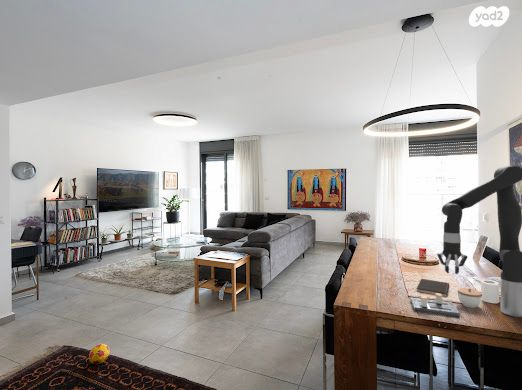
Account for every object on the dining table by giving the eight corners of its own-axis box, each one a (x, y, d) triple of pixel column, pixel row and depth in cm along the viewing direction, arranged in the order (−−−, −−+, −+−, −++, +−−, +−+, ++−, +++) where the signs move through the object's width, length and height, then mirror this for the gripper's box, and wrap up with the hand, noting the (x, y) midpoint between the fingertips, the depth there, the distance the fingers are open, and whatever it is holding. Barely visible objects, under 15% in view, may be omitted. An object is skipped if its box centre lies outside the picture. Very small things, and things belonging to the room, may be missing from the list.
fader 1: (426, 304, 146) (426, 296, 146) (427, 307, 143) (427, 298, 143) (420, 303, 147) (420, 295, 147) (421, 306, 144) (421, 298, 144)
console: (452, 305, 150) (452, 301, 150) (459, 317, 137) (459, 312, 137) (410, 300, 158) (410, 296, 158) (414, 311, 145) (414, 306, 145)
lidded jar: (471, 301, 156) (471, 284, 156) (487, 309, 145) (487, 291, 145) (452, 301, 156) (452, 285, 155) (467, 310, 145) (467, 292, 145)
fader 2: (440, 301, 150) (440, 293, 150) (442, 303, 147) (442, 295, 147) (435, 300, 151) (435, 293, 151) (436, 303, 148) (436, 295, 148)
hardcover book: (416, 292, 172) (416, 288, 172) (421, 281, 191) (421, 278, 191) (447, 297, 163) (447, 293, 163) (449, 286, 181) (449, 283, 181)
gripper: (465, 240, 147) (465, 272, 147) (434, 239, 152) (434, 270, 152) (470, 243, 140) (470, 276, 140) (437, 241, 145) (438, 273, 146)
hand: (451, 273), depth 146 cm, fingers open, 3 cm apart
